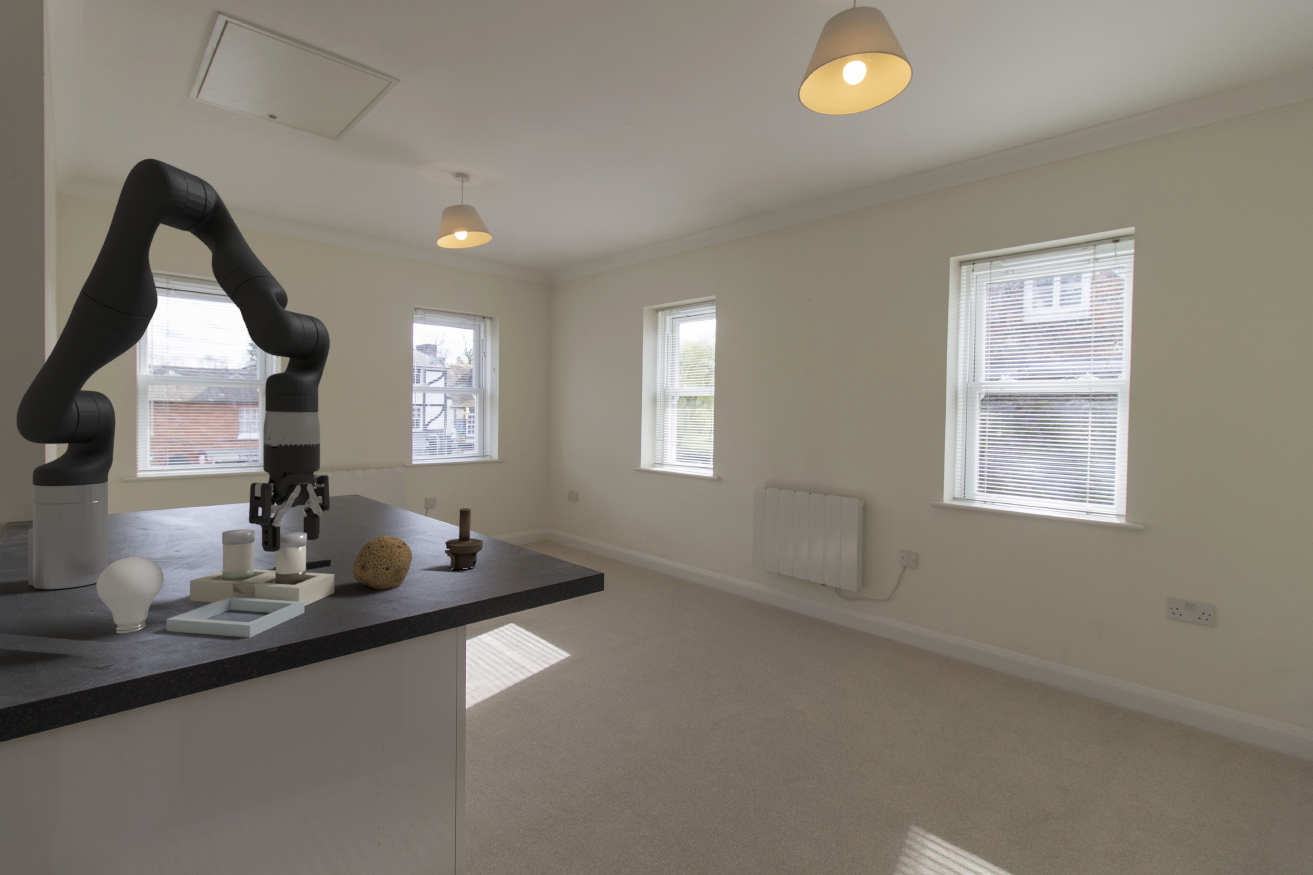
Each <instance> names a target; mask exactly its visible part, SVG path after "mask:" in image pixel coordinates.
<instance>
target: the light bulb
mask: <svg viewBox="0 0 1313 875" xmlns="http://www.w3.org/2000/svg"><path fill="white" fill-rule="evenodd" d="M162 570H163V569H162V568H161V567H160V566H159V564H157V563H156V561H153V560H151V559H150V558H146V557H144V556H143V557H141V556H129V557H124V558H121V559H118V560H116V561H113V562H112V563H110V564H108V566H107V567H106V568H105V569H104V570H103V571H102V573H101V574H100V576H99V578H98V580H97V583H96V586H95V587H96V593H97V595H98V597H99V598H100V600H101V601H102V602H103V604H105V606H106V607H107V608H108V609H109V611H110V612H111V614H112V620H113V623H114V624H115V625H116V627H115V630H116V631H115V632H116V634H129V633H135V632H138V631H141V630H143V629H145V628H146V623H147V622H146V619H148V616H149V609H150V607H151V605H152V603H153V601H154V600H155V599H156V597H157V596H158V594H159V593H160V591H161V589H162V587H163V585H164V580H165V579H164V573H163V571H162Z"/></svg>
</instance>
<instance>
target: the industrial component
mask: <svg viewBox="0 0 1313 875" xmlns="http://www.w3.org/2000/svg"><path fill="white" fill-rule="evenodd" d="M471 510H472V509H471V508H468V507H467V508H466V507H465V508H459V518H458V519H459V523H458V525H459V528H458V529H459V530H458V538H453V539H449V540H447V541H445V543H444V544H445V547H446V548H445V549H444V554H445V555H447V557H449V558H450V569H452V568H453V569H463V568H471V567H474V566H475V565H477V560H478V559H477V556H478V553H479V552H480V551H482V550H483V544H484V540H482V539H478V538H471V520H472V519H471V518H472V517H471V516H472V515H471V512H472V511H471ZM474 568H475V567H474Z"/></svg>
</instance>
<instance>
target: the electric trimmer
mask: <svg viewBox="0 0 1313 875" xmlns="http://www.w3.org/2000/svg"><path fill="white" fill-rule="evenodd" d="M331 563H332V559H324V560H321V559H320V560H316V561H315V560H314V561H309V562H308V561H306V571H309V570H314V569H321V568H327V567H331ZM266 570H275V571H276V566H274V568H268V569H266Z"/></svg>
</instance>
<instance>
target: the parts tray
mask: <svg viewBox="0 0 1313 875" xmlns="http://www.w3.org/2000/svg"><path fill="white" fill-rule="evenodd" d="M230 610H231V611H243V612H259V613H268V614H266V615H263V616H261V617H258V618H256V619H254V620H252V621H249V622H247V621H246V622H245V621H234V620H225V619H224V620H223V619H221V620H220V619H210V618H212V617H215V616H218V615H220V614H223V613H225V612H228V611H230ZM304 613H305V606H304V602H297V601H283V600H268V599H254V598H239V597H228V598H225V599H222V600H219V601H216V602H210V603H207V604H206V605H203V606H200V607H198V608H194V609H192V610H189V611H185V612H183V613H180V614H177V615H175V616H172V617H169V618H167V619H166V628H165V629H166V632H177V633H188V634H189V633H191V634H200V635H201V634H202V635H212V636H213V635H214V636H227V637H240V638H252V637H254V636H256V635H259V634H260V633H264V632H265V631H267V630H269V629H272V628H273V627H274V628H275V627H276V626H278V625H280V624H282V623H285V622H287V621H290V620H291V619H293V618H296V617H298V616H300V615H302V614H304Z"/></svg>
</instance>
